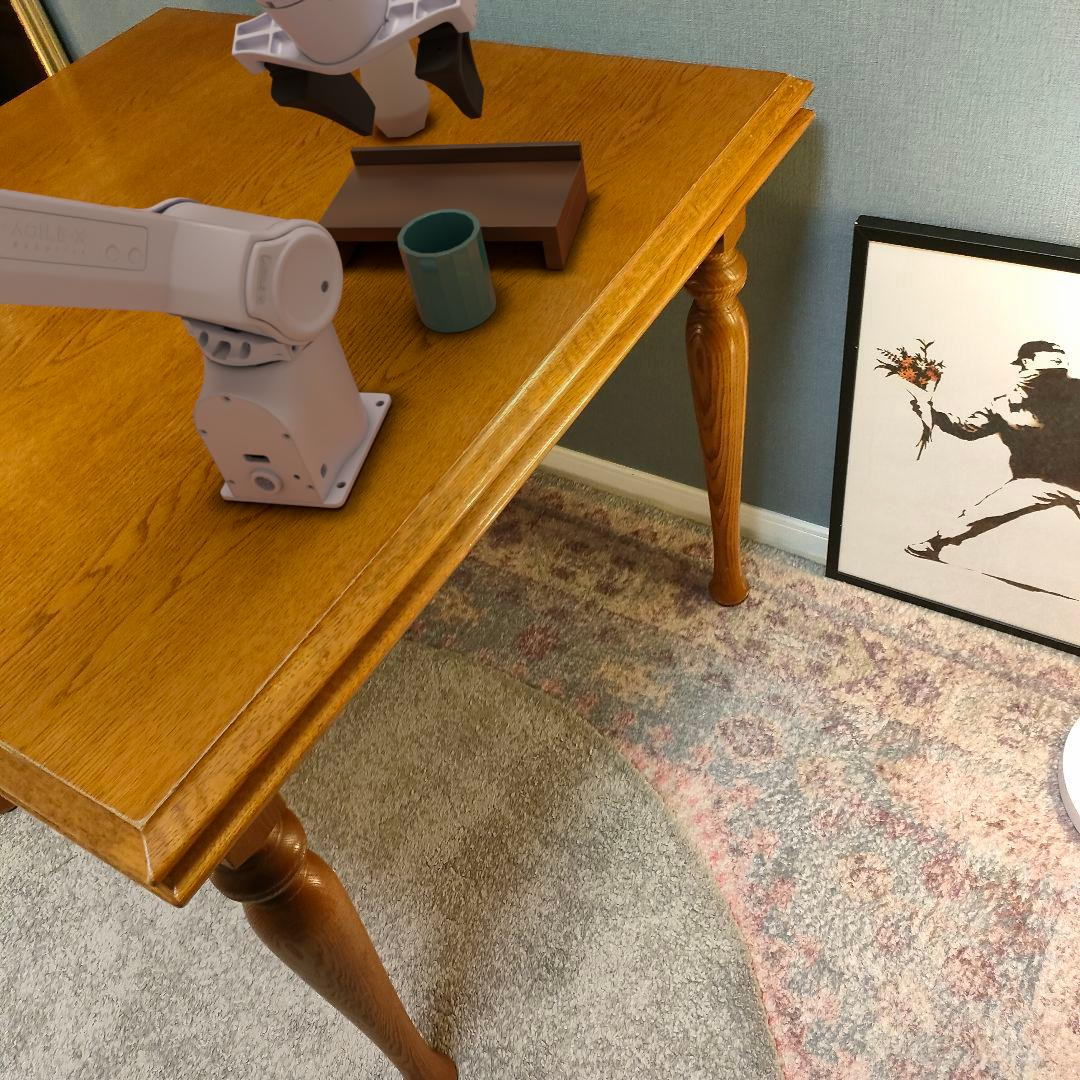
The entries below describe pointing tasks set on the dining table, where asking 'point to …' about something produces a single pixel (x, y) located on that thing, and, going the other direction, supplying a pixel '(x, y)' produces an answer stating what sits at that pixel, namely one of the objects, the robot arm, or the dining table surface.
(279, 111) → the dining table surface
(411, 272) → the cup
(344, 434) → the robot arm
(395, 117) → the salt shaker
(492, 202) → the shelf
